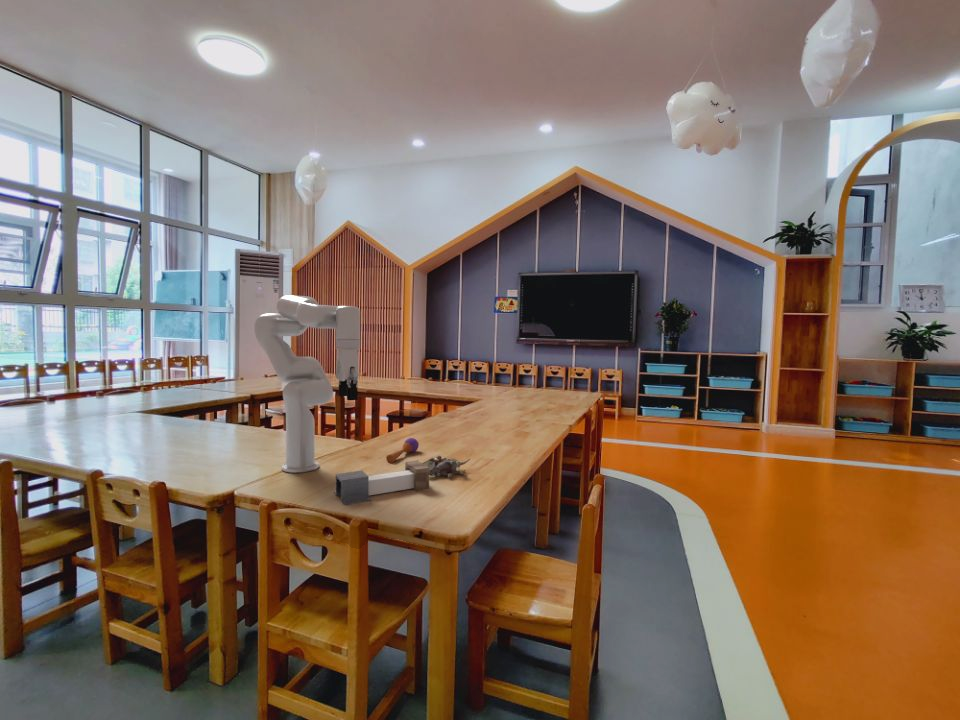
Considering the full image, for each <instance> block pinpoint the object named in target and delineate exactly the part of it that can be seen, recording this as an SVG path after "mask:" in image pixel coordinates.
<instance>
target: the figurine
mask: <svg viewBox="0 0 960 720" xmlns="http://www.w3.org/2000/svg"><path fill="white" fill-rule="evenodd" d="M470 460H471V459H470V458H469V459H467V460H466V461H463V462H462V461H459V460H457V459H456V458H448V459H447V457H444V456H443V455H438V456H435V457H431V458H429V459H427V460H426V461H424V462H422V463H423V464H424V465H426V466H428V467H429V477H430V476H431V477H433V476H436V475H439V476H446V477H447V478H448V479H450V478H452V477H453V476H454V475H459V474H461V475H462V476H464V475H465V474H466V473H467V472H466V471H465V470H463V469H462V470H457V469H460V467H461V466H463V465H465V464H466V463H468V462H469V461H470ZM436 477H437V476H436Z"/></svg>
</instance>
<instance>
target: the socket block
mask: <svg viewBox="0 0 960 720" xmlns="http://www.w3.org/2000/svg"><path fill="white" fill-rule="evenodd" d="M404 463H405V466H404V468H405V469H404V471H406V470H412V471H413V472H414V488H413V489H414V490H413V491H415V492H421V491H424V490H425V491H426V490H429V489H430V475H429V467H428V466H426V465H424V464H423V462H421V461H420V460H411V461H405V462H404Z"/></svg>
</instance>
